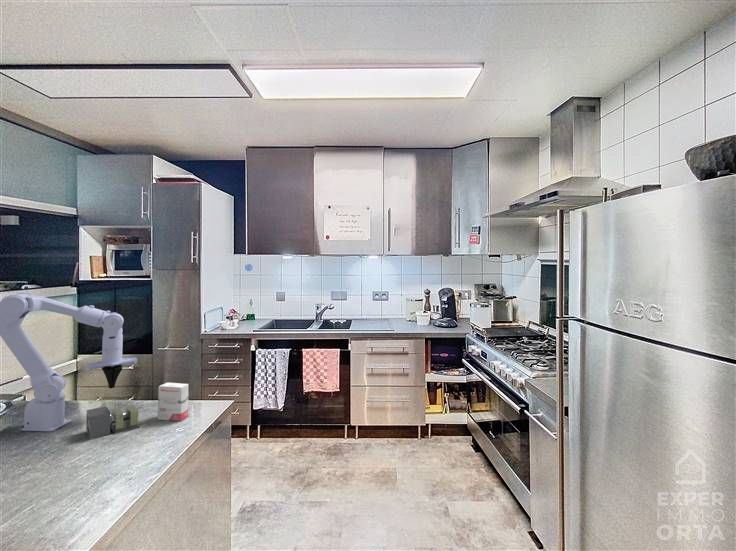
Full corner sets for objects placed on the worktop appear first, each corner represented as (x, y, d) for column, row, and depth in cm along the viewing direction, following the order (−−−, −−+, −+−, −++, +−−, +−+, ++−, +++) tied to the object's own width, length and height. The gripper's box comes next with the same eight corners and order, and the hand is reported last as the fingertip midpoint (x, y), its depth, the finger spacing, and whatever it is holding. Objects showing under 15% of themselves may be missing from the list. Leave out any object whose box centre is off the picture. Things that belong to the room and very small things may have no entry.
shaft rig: (90, 440, 108) (90, 420, 108) (85, 431, 113) (86, 412, 113) (140, 427, 117) (140, 409, 117) (133, 419, 123) (134, 402, 123)
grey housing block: (89, 439, 108) (90, 416, 108) (86, 431, 113) (86, 410, 113) (110, 434, 112) (110, 412, 112) (105, 426, 117) (106, 406, 117)
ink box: (189, 416, 128) (190, 383, 127) (180, 421, 123) (181, 387, 122) (166, 414, 128) (167, 381, 128) (156, 419, 124) (157, 385, 123)
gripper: (88, 353, 116) (87, 395, 116) (139, 347, 126) (138, 386, 126) (84, 349, 121) (83, 389, 121) (134, 344, 131) (133, 381, 131)
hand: (111, 387), depth 124 cm, fingers closed
